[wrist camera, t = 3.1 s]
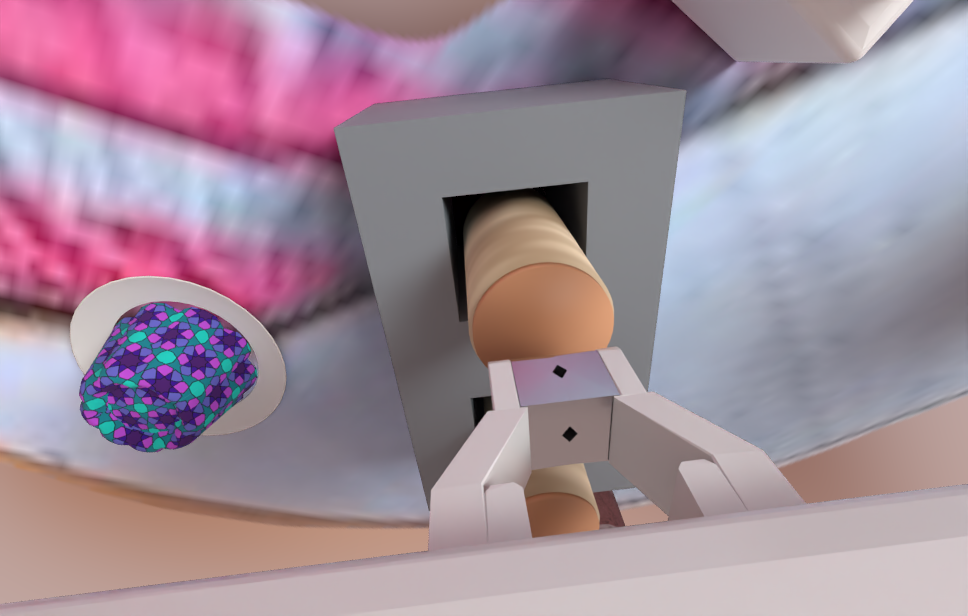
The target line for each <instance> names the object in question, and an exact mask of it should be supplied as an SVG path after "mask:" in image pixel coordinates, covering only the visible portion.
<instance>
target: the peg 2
mask: <svg viewBox="0 0 968 616" xmlns="http://www.w3.org/2000/svg"><path fill="white" fill-rule="evenodd" d="M483 403H484V414H486V412H488V411H493V409H492V400H491V396H486V397H483ZM531 471H532V473H531V475H530V477H529V480H528V482H527V485H526V487H525V489H524V496H525V501H526V507H527V512H528V518H529V523H530V528H531V534H532V538H535V537H543V536H551V535H559V534H567V533H575V532H584V531H592V530H599V527H600V526H599V521H600V514H599V510H598V507H597V504H596V501H595V498H594V495H593V492H592V489H591V485H590V482H589V479H588V476H587V473H586V470H585V467H584V464H583V463H580V464H569V465H563V466H556V467H549V468H543V469H536V470H531Z"/></svg>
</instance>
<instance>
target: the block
mask: <svg viewBox="0 0 968 616" xmlns="http://www.w3.org/2000/svg"><path fill="white" fill-rule="evenodd" d="M686 91H687V90H683V89H675V88H668V87H661V86H654V85H647V84H640V83H633V82H626V81H619V80H612V79H601V80H592V81H582V82H573V83H564V84H555V85H545V86H536V87H527V88H517V89H508V90H499V91H489V92H480V93H471V94H462V95H452V96H443V97H434V98H424V99H415V100H406V101H396V102H387V103H378V104H373V105H371V106H370V107H368V108H366V109H365V110H363V111H361V112H360V113H358V114H356V115H355V116H353V117H351V118H350V119H348V120H346V121H345V122H343V123H341V124H340V125H338V126H336V127H335V128H334V132H335V136H336V140H337V144H338V148H339V152H340V156H341V160H342V164H343V168H344V172H345V176H346V180H347V184H348V188H349V192H350V196H351V200H352V204H353V208H354V212H355V216H356V220H357V224H358V228H359V232H360V236H361V240H362V244H363V248H364V252H365V256H366V260H367V264H368V268H369V272H370V276H371V280H372V284H373V288H374V292H375V296H376V300H377V304H378V308H379V312H380V316H381V320H382V324H383V328H384V332H385V336H386V340H387V344H388V348H389V352H390V356H391V360H392V364H393V368H394V372H395V376H396V380H397V384H398V388H399V392H400V396H401V400H402V404H403V408H404V412H405V416H406V420H407V424H408V428H409V432H410V436H411V440H412V444H413V448H414V452H415V456H416V460H417V464H418V468H419V472H420V476H421V480H422V484H423V488H424V492H425V496H426V500H427V504H428V508H429V511H430V501H431V490H432V488H433V487H434V485H435V484H436V482H437V481H438V480H439V478H440V477H441V475H442V474H443V473H444V471H445V470H446V468H447V467H448V466H449V464H450V463H451V461H452V460H453V459H454V457H455V456H456V454H457V453H458V452H459V450H460V449H461V447H462V446H463V445H464V443H465V442H466V440H467V439H468V438H469V436H470V435H471V433H472V432H473V431H474V429H475V428H476V426H477V425H478V424H479V422H480V421H481V419H482V418H483V416H484V415H485V414H484V403H483V397H486V396H491V391H490V382H489V373H488V368H487V367H486V366H485V365H484V364H483V363H482V361H481V360H480V359H479V357H478V356H477V354H476V353H475V351H474V349H473V347H472V344H471V341H470V336H469V325H468V308H467V291H466V275H465V258H464V245H463V246H457V239H456V231H455V223H454V216H453V208H452V201H451V197H452V196H461V195H470V194H479V193H488V192H498V191H507V190H516V189H525V188H534V187H543V186H546V199H547V200H548V201H549V202H550V204H551V205H552V206H553V208H554V209H555V211H556V212H557V214H558V215H559V217H560V218H561V220H562V221H563V223H564V224H565V226H566V227H567V229H568V230H569V232H570V233H571V235H572V236H573V238H574V239H575V241H576V242H577V244H578V245H579V247H580V248H581V250H582V251H583V253H584V254H585V256H586V257H587V259H588V260H589V262H590V263H591V265H592V266H593V268H594V269H595V271H596V272H597V274H598V275H599V277H600V278H601V280H602V281H603V283H604V284H605V286H606V287H607V289H608V291H609V293H610V295H611V298H612V301H613V307H614V327H613V333H612V336H611V339H610V341H609V344H608V346H607V348H609V347H616V346H617V347H619V348H620V349H621V351H622V352H623V354H624V356H625V357H626V359H627V360H628V362H629V364H630V365H631V367H632V369H633V370H634V372H635V374H636V375H637V377H638V379H639V380H640V382H641V384H642V385H643V387H644V388H645V390H646V392H648V384H649V377H650V369H651V361H652V353H653V346H654V338H655V330H656V323H657V315H658V307H659V299H660V292H661V284H662V276H663V269H664V261H665V253H666V245H667V238H668V230H669V222H670V215H671V207H672V199H673V192H674V184H675V176H676V168H677V161H678V153H679V145H680V138H681V130H682V122H683V114H684V107H685V99H686ZM583 464H584V467H585V470H586V473H587V476H588V479H589V482H590V485H591V489H592V492H601V491H610V490H619V489H627V488H635V486H634V485H633V484H632V483H631V482H630V481H629V480H627V479H626V478H625V477H624V476H623V475H622V474H621V473H620V472H619V471H617V470H616V469H615V468H614V467H613V466H612V465H611V464H610V463H609V461H601V462H591V463H583Z"/></svg>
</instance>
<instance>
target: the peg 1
mask: <svg viewBox="0 0 968 616" xmlns="http://www.w3.org/2000/svg"><path fill="white" fill-rule="evenodd" d="M463 241H464V258H465V275H466V291H467V308H468V325H469V336H470V341H471V344H472V347H473V349H474V351H475V353H476V354H477V356H478V357H479V359H480V360H481V361H482V363H483V364H484V365H485V366H486V367H487V368H488V362H490V361H499V360H508V359H509V360H510V359H518V358H528V357H539V356H549V355H561V354H569V353H577V352H585V351H594V350H595V349H602V348H607V346H608V344H609V341H610V339H611V336H612V333H613V327H614V307H613V301H612V298H611V295H610V293H609V291H608V289H607V287H606V286H605V284H604V283H603V281H602V280H601V278H600V277H599V275H598V274H597V272H596V271H595V269H594V268H593V266H592V265H591V263H590V262H589V260H588V259H587V257H586V256H585V254H584V253H583V251H582V250H581V248H580V247H579V245H578V244H577V242H576V241H575V239H574V238H573V236H572V235H571V233H570V232H569V230H568V229H567V227H566V226H565V224H564V223H563V221H562V220H561V218H560V217H559V215H558V214H557V212H556V211H555V209H554V208H553V206H552V205H551V204H550V202H549V201H548V200H547V199H546V198H545V197H544V196H543V195H542V194H540V193H539V192H537V191H535V190H533V189H531V188H525V189H516V190H507V191H498V192H488V193H486V194H484V195H483V196H481V197H480V198H479V199H478V200H477V201H476V202H475V203H474V204H473V206H472V207H471V209H470V210H469V212H468V214H467V216H466V219H465V222H464V227H463Z"/></svg>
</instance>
